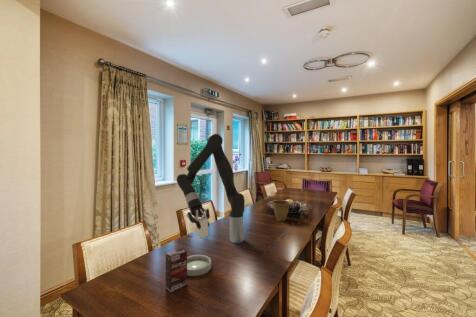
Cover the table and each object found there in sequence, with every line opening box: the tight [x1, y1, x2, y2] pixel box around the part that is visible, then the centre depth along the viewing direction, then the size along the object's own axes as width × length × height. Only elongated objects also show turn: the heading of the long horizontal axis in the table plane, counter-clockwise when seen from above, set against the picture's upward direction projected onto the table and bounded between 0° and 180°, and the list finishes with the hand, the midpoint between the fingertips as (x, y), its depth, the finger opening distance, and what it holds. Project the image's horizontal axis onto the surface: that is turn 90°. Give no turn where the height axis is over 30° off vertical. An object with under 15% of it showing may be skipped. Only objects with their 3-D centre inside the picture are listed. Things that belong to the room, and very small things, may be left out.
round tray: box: [187, 254, 212, 277], centre depth 120 cm, size 16×16×3 cm
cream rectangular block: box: [196, 217, 209, 238], centre depth 128 cm, size 5×5×9 cm
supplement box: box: [165, 248, 188, 293], centre depth 103 cm, size 9×5×16 cm, turn 136°
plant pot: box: [272, 199, 291, 222], centre depth 200 cm, size 15×15×16 cm
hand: (204, 227), depth 126 cm, fingers closed on cream rectangular block, 4 cm apart
